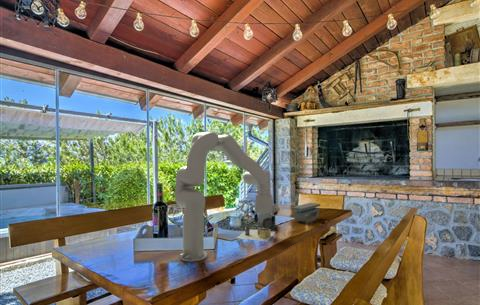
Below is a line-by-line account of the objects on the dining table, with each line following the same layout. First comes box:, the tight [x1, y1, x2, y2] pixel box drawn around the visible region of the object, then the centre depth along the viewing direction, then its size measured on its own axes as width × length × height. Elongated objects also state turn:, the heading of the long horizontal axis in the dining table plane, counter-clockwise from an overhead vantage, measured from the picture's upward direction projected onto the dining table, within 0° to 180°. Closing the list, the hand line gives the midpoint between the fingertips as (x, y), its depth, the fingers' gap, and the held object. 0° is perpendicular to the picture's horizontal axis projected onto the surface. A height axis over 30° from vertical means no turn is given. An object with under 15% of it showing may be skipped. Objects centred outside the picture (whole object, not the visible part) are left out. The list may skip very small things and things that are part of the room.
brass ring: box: [257, 227, 272, 239], centre depth 162 cm, size 7×7×4 cm
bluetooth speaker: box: [258, 213, 276, 231], centre depth 187 cm, size 23×9×10 cm, turn 2°
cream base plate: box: [236, 227, 276, 242], centre depth 166 cm, size 20×18×6 cm
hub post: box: [244, 225, 250, 236], centre depth 166 cm, size 3×3×5 cm
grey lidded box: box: [291, 202, 321, 224], centre depth 206 cm, size 25×8×11 cm, turn 135°
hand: (264, 222), depth 163 cm, fingers open, 9 cm apart
